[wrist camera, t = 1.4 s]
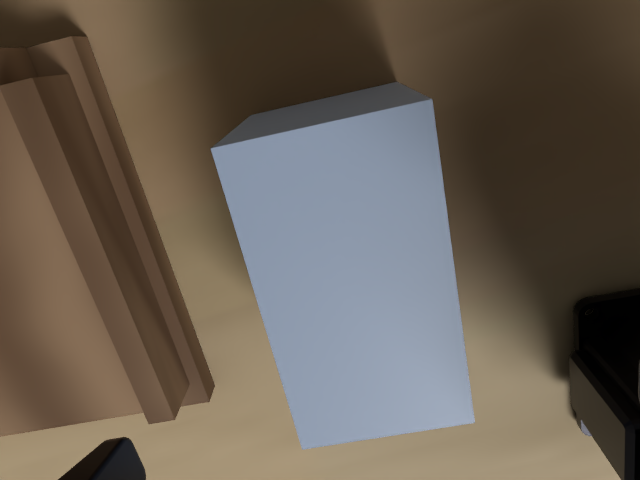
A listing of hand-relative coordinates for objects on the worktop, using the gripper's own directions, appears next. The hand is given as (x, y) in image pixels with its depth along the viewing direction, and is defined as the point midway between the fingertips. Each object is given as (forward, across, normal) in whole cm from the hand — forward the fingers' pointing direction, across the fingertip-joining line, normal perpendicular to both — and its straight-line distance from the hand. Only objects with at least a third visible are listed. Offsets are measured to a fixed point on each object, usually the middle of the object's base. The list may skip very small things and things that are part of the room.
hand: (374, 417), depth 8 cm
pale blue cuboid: (+10, 0, 0) cm, 10 cm away
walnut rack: (+10, +13, -1) cm, 16 cm away
